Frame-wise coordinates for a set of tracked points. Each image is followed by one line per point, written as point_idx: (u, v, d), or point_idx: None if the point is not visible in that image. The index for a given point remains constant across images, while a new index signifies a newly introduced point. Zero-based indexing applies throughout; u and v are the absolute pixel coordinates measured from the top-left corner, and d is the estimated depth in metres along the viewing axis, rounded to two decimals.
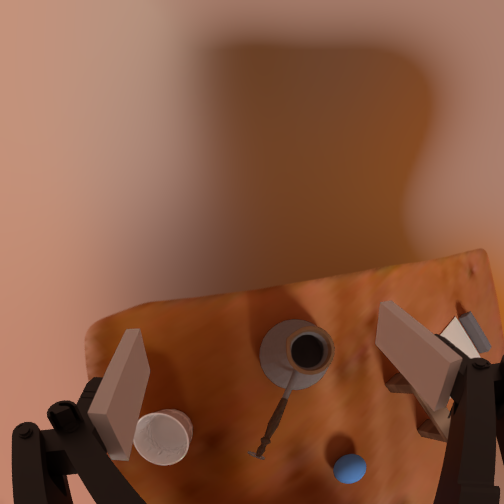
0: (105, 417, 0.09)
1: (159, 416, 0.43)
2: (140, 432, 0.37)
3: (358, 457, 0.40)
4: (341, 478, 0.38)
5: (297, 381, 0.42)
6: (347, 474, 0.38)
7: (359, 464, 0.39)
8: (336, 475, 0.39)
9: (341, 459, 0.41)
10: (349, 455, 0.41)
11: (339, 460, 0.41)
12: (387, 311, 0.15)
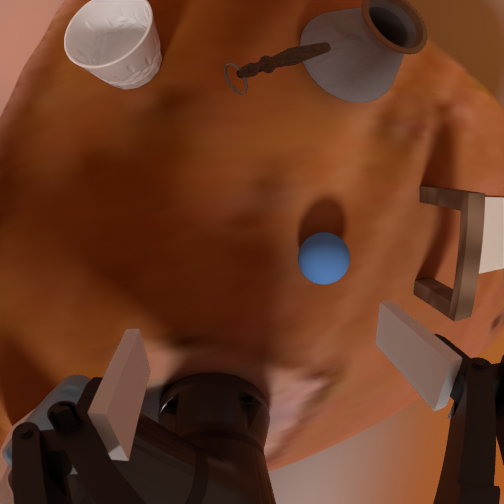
0: (105, 417, 0.09)
1: (126, 34, 0.25)
2: (88, 25, 0.20)
3: (346, 247, 0.32)
4: (308, 261, 0.31)
5: (342, 67, 0.25)
6: (321, 259, 0.30)
7: (344, 257, 0.31)
8: (303, 253, 0.32)
9: (323, 233, 0.32)
10: (336, 235, 0.32)
11: (319, 233, 0.32)
12: (387, 311, 0.15)
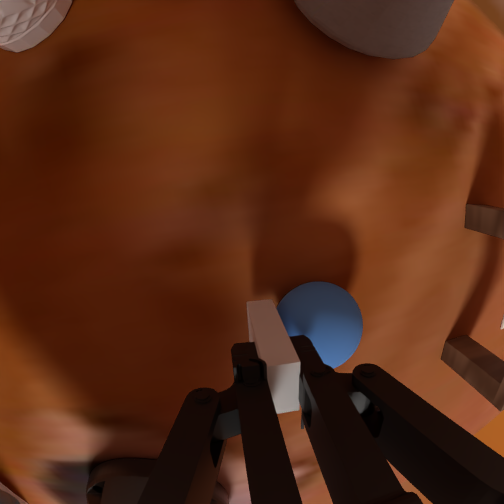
0: (279, 368, 0.12)
1: None
2: None
3: (359, 310, 0.17)
4: None
5: None
6: (313, 339, 0.16)
7: (355, 332, 0.16)
8: None
9: (319, 286, 0.17)
10: (342, 289, 0.18)
11: (312, 285, 0.18)
12: None
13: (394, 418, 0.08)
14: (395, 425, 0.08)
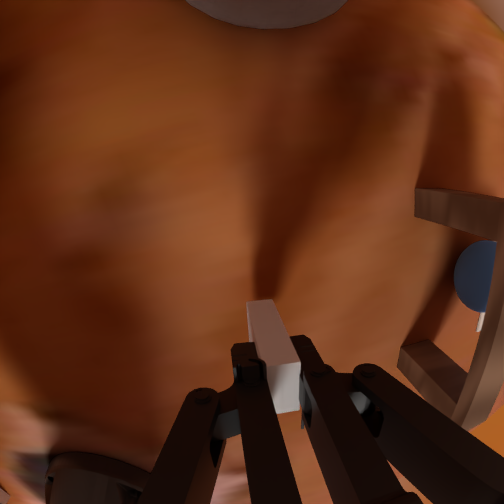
0: (279, 368, 0.12)
1: None
2: None
3: None
4: None
5: None
6: None
7: None
8: None
9: (491, 241, 0.18)
10: None
11: (489, 242, 0.18)
12: None
13: (394, 418, 0.08)
14: (395, 425, 0.08)
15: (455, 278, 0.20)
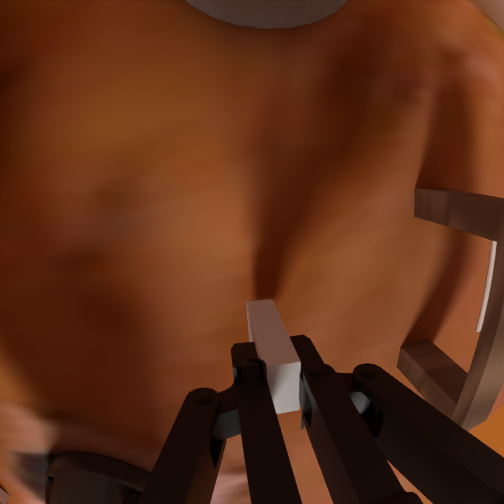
0: (279, 368, 0.12)
1: None
2: None
3: None
4: None
5: None
6: None
7: None
8: None
9: None
10: None
11: None
12: None
13: (394, 418, 0.08)
14: (395, 425, 0.08)
15: None
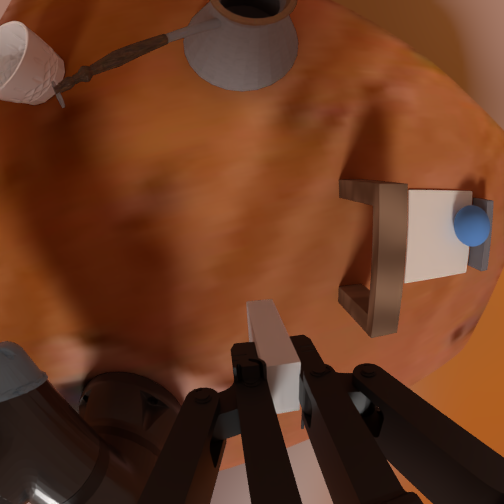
0: (279, 368, 0.12)
1: None
2: None
3: (488, 219, 0.32)
4: (460, 224, 0.33)
5: (213, 55, 0.23)
6: (469, 224, 0.32)
7: (485, 225, 0.31)
8: (457, 218, 0.34)
9: (473, 205, 0.33)
10: (482, 209, 0.33)
11: (470, 205, 0.33)
12: None
13: (394, 418, 0.08)
14: (395, 425, 0.08)
15: None
